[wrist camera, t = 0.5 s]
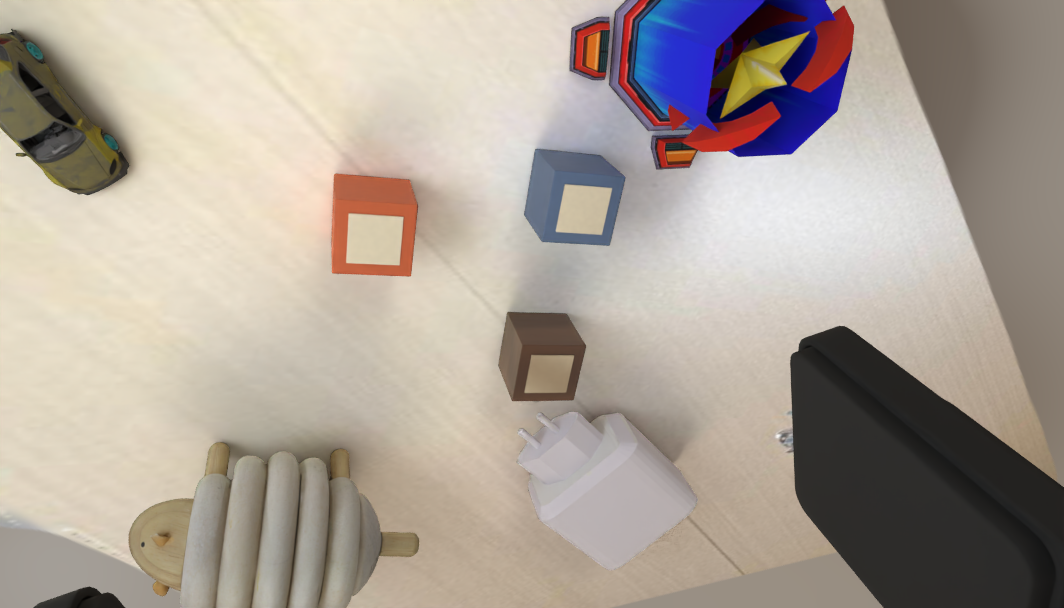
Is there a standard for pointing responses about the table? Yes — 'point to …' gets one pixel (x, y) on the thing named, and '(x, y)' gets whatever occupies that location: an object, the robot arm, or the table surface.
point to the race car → (52, 123)
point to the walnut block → (541, 356)
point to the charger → (603, 485)
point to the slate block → (573, 197)
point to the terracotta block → (373, 225)
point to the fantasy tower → (721, 71)
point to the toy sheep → (266, 535)
